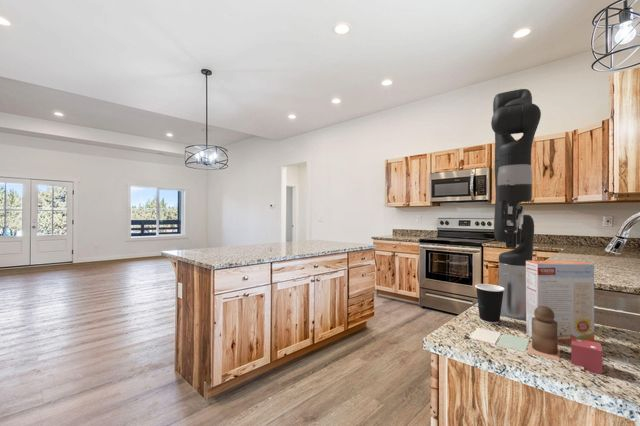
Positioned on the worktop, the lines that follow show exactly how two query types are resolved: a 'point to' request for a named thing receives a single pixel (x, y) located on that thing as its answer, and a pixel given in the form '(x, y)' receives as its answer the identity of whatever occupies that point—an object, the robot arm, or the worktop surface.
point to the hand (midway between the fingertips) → (513, 245)
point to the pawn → (544, 331)
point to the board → (510, 342)
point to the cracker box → (562, 296)
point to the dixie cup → (489, 302)
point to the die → (587, 355)
